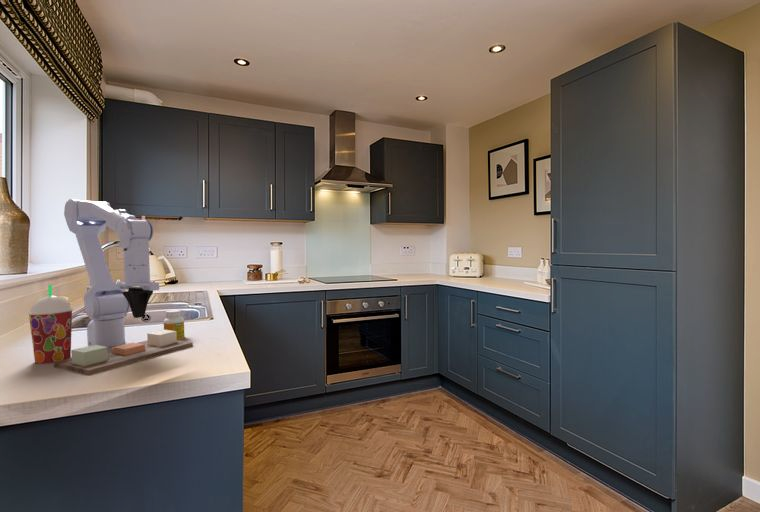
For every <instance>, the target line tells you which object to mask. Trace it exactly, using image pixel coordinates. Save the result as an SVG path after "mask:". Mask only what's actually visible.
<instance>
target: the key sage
mask: <svg viewBox="0 0 760 512" xmlns="http://www.w3.org/2000/svg"><path fill="white" fill-rule="evenodd" d="M108 350H109V349H108V347H104V346H99V345H92V346H88V345H87V346H84V347H78V348H75V349H71V358H72V364H76V365H80V366H87V365H90V364H94V363H98V362H102V361H106V360H108Z"/></svg>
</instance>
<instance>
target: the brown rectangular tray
mask: <svg viewBox="0 0 760 512" xmlns="http://www.w3.org/2000/svg"><path fill="white" fill-rule="evenodd" d="M138 343H139V344H145V351H141V352H137V353H133V354H129V355H125V356H124V355H118V354H113V348H109V349H107V350H108V360H106V361H102V362H98V363H94V364H90V365H87V366H80V365H76V364H72V357H71V358H69V359H66V360H62V361H58V362H54V363H53V367H54V368H57V369H61V370H65V371H69V372H73V373H78V374H83V375H86V376H91V375H93V374H94V375H95V374H97V373H101V372H105V371H108V370H113V369H115V368H119V367H123V366H125V365H126V366H127V365H130V364H134V363H136V362H137V363H138V362H140V361H141V362H142V361H144V360H147V359H152V358H155V357H159V356H162V355H166V354H170V353H173V352H176V351H181V350H184V349H187V348H191V347H193V346H194V344H193V343H194V342H192V341H186V340H181V339H180V340H177V342H176V343H172V344H168V345H164V346H160V347H158V346H152V345H148V339H147V340H143V341H140V342H138Z"/></svg>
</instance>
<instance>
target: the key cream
mask: <svg viewBox="0 0 760 512" xmlns="http://www.w3.org/2000/svg"><path fill="white" fill-rule="evenodd" d="M146 334H147V340H148V345H152V346H158V347H160V346H164V345H168V344H172V343H176V342H177V333H176V331H171V330H164V329H161V330H157V331H153V332H148V333H146Z"/></svg>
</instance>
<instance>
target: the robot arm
mask: <svg viewBox="0 0 760 512" xmlns="http://www.w3.org/2000/svg"><path fill="white" fill-rule="evenodd" d="M63 215H64V219H65V222H66V225H67V227H68V229H69V232H71V233H73V234H74V235H75V237H76V242H77V243H78V247H79V250H80V252H81V256H82V259H83V262H84V265H85V269H86V272H87V274H88V278H89V281H90V285H91V288H89V289H88V290H86V292H85V293H84V296H83V302H84V307H83V308H84V313H85V315H86V316H87V317H88V318H89V319H90V321H89V323H88V324H87V326H86V336H87V338H86V339H87V347H88V346H92V345H99V346H104V347H107V348H111V347H112V348H113V347H115V346H120V345H124V344H126V331H125V328H126V327H125V317H127V316H128V315H127V314H128V313H129V312H130V311H131V313H132V316H133V318H134V319H137V318H144V317H145V315H146V311H147V307H148V303H149V301H150V298H151V297H152V295H153V294H154V291H160V282H157V281H156V282H155V281H151V270H150V269H151V268H150V243H149V241H151V240H152V238H153V236H154V227H153V224H152V222H151V221H150V220H149V219H145V218H144V219H138V218H137V217H136V216H135V215H134V214H129V213H128V212H127V210H126V209H124V208H123V209H121V208H119V209H113V208H112V207H111V204H110V202H107V201H106V200H105V201H104V200H103V201H95V200H83V199H82V200H81V199H74V198H69V199H68V200H67V201H66V202H65V204H64V212H63ZM106 228H109V229H110V230H112V231H113V232H116V233H117V236H118V237H117V238H118V239H119V241H120V242H119V243H120V247H121V248H122V249H123V272H124V281H117V283H116V282H115V281H113V278H112V275H111V271H110V269H109V266H108V263H107V259H106V257H105V254H104V250H103V248H102V244H101V242H100V238H99V235H100V234H101V233H104V232H105V231H106Z"/></svg>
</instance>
